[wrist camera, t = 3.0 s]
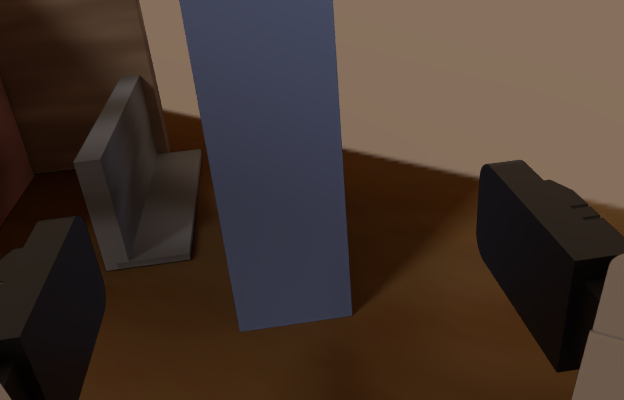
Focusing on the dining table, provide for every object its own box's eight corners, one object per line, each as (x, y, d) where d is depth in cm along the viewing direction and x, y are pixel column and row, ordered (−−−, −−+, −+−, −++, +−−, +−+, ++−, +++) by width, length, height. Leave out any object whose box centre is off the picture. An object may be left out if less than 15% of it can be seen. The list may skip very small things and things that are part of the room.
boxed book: (352, 315, 21) (323, -144, 14) (239, 331, 21) (155, -128, 14) (317, 187, 30) (288, -136, 23) (237, 197, 30) (184, -126, 23)
